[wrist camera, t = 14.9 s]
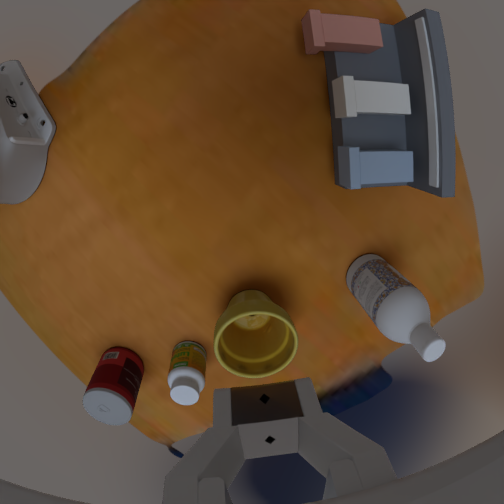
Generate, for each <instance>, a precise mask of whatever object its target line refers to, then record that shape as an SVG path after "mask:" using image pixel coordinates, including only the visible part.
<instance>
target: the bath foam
mask: <svg viewBox="0 0 504 504" xmlns="http://www.w3.org/2000/svg"><path fill="white" fill-rule="evenodd" d="M346 281H347V286H348V288H349V290H350V291H351V293H352V294H353V295H354V296H355V298H356V299H357V300H358V302H359V303H360V305H361V306H362V307H363V309H364V310H365V311H366V313H367V314H368V315H369V317H370V318H371V319H372V321H373V322H374V323H375V325H376V326H377V328H378V329H379V330H380V331H381V332H382V333H383V334H384V335H385V336H386V337H387V338H389V339H391V340H393V341H395V342H399V343H407V344H412V345H413V346H414V348H415V349H416V350H417V352H418V353H419V354H420V355H421V357H422V358H423V359H424V360H425V361H427V362H431V361H434V360H436V359H437V358H439V357H440V356H441V355H442V353H443V352H444V350H445V346H446V344H445V341H444V340H443V339H442V338H441V337H440V336H439V335H438V333H437V332H436V331H435V330H434V329H433V328H432V327H431V326H430V310H429V306H428V303H427V301H426V299H425V297H424V296H423V294H422V293H421V292H420V291H419V290H418V289H417V288H416V287H415V286H414V285H413V284H412V283H410V282H409V281H408V280H407V279H406V278H405V277H404V276H403V275H401V274H400V273H399V272H398V271H397V270H396V269H394V268H393V267H392V266H391V265H390V264H389V263H388V262H386V261H385V260H384V259H383V258H381V257H380V256H378V255H375V254H367V255H363V256H361V257H359V258H358V259H356V260H355V261H354V262H353V263H352V265H351V266H350V268H349V270H348V272H347V277H346Z"/></svg>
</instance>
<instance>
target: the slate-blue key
mask: <svg viewBox="0 0 504 504" xmlns="http://www.w3.org/2000/svg"><path fill="white" fill-rule="evenodd" d="M338 163H339V184H340V185H342V186H345V187H347V188H349V189H361V184H376V183H396V182H413V151H406V150H399V149H366V150H359V147H352V146H338Z"/></svg>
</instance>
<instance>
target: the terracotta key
mask: <svg viewBox="0 0 504 504" xmlns="http://www.w3.org/2000/svg"><path fill="white" fill-rule="evenodd" d="M301 21H302V28H303V35H304V43H305V51H306V54H317V53H318V52H319V51H339V52H355V53H367V54H369V53H371V52H374V51H376V50H378V49H380V48H382V47H383V42H382V36H381V30H380V24H379V19H373V18H365V17H357V16H347V15H336V14H320V10H310V9H309V10H308V12H307V13H306V15H305V16H304V17H303V19H302V20H301Z"/></svg>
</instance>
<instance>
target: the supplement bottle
mask: <svg viewBox="0 0 504 504" xmlns="http://www.w3.org/2000/svg"><path fill="white" fill-rule="evenodd" d="M205 371H206V352H205V350H204V348H203V347H202V346H201V345H199V344H197V343H195V342H191V341H185V342H181V343H179V344H178V345H176V347H175V348H174V350H173V354H172V359H171V364H170V369H169V374H168V384H169V386H170V388H171V391H170V395H171V398H172V399H173V400H174V401H175V402H177V403H179V404H182V405H191V404H194V403H196V402H197V401H198V399H199V393H200V392H201V391H202V389H203V388H204V385H205Z"/></svg>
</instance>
